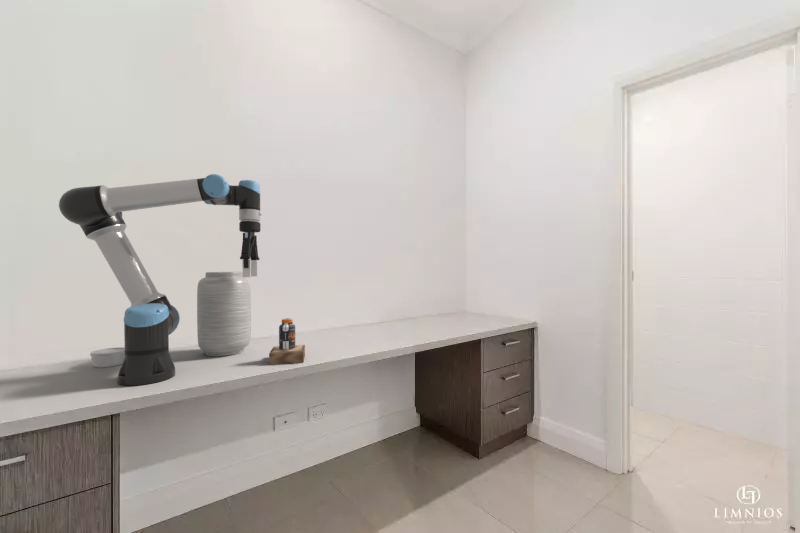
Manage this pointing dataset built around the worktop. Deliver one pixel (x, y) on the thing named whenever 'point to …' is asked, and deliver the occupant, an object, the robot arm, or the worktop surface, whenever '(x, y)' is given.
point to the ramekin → (108, 357)
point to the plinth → (287, 355)
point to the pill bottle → (287, 334)
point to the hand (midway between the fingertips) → (250, 276)
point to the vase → (223, 313)
